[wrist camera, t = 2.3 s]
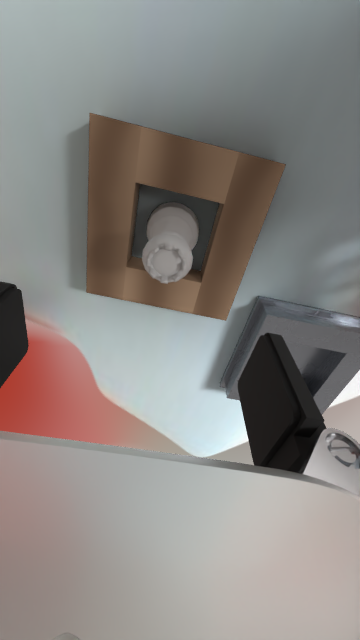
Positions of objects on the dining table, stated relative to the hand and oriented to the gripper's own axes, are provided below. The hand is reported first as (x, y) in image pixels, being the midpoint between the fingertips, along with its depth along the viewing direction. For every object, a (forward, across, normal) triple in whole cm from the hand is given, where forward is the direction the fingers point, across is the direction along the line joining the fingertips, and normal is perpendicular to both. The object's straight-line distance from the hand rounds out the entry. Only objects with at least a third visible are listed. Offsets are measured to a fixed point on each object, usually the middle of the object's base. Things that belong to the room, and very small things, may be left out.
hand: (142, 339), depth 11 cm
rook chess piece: (+15, -1, 0) cm, 15 cm away
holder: (+15, -17, +10) cm, 25 cm away
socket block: (+15, -1, 0) cm, 15 cm away
